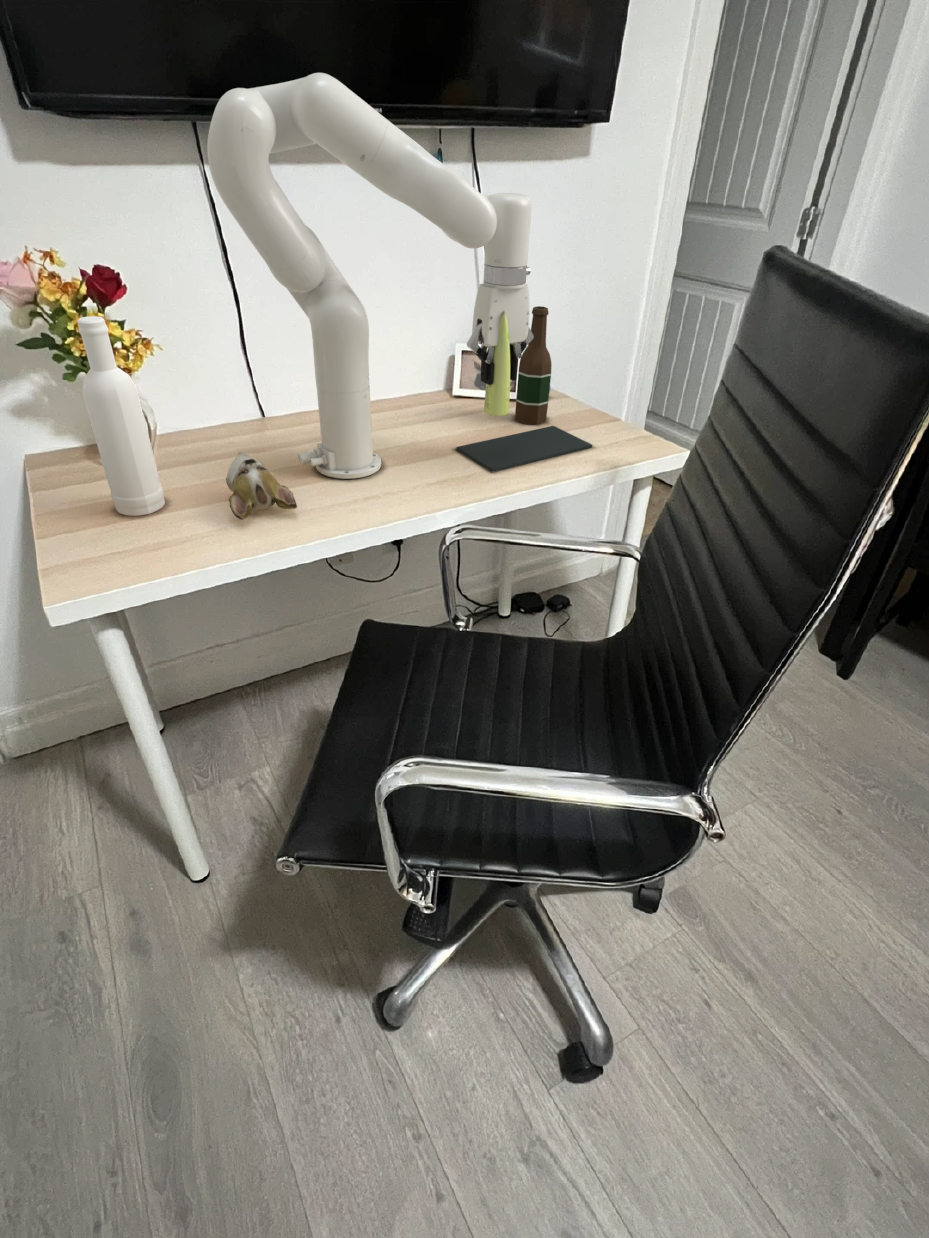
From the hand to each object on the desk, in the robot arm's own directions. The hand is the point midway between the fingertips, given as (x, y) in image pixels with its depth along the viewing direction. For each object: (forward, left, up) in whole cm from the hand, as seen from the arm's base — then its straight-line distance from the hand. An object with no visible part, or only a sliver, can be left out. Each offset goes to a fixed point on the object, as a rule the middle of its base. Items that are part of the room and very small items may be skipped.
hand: (498, 380), depth 131 cm
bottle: (-66, +12, -15) cm, 69 cm away
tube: (0, 0, -7) cm, 7 cm away
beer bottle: (+20, +14, -15) cm, 29 cm away
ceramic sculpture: (-49, +2, -15) cm, 51 cm away
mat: (+8, 0, -15) cm, 17 cm away
